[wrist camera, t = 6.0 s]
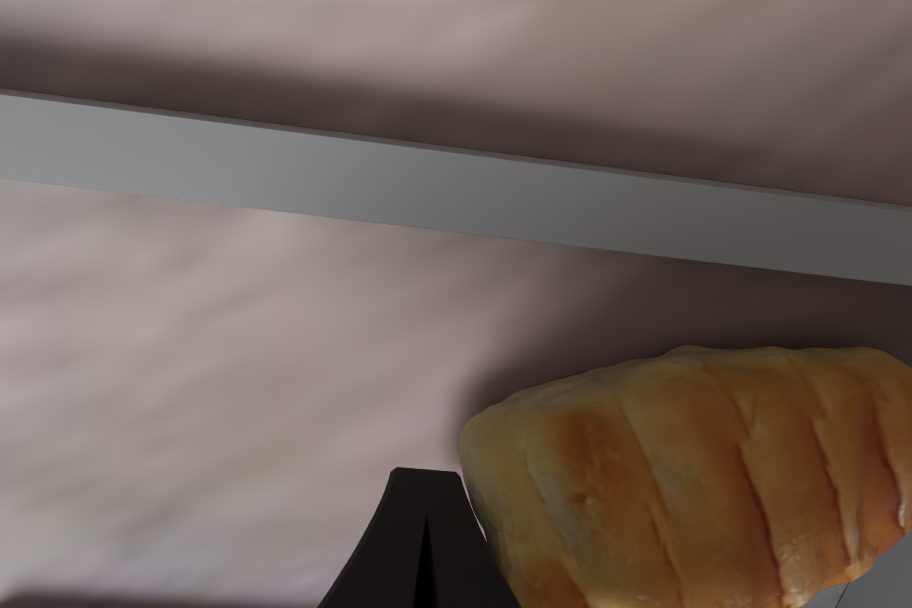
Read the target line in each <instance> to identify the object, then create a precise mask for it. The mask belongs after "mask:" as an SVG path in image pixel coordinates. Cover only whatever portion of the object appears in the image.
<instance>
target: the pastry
mask: <svg viewBox="0 0 912 608" xmlns="http://www.w3.org/2000/svg"><path fill="white" fill-rule="evenodd" d="M458 453H459V459H460V463H461V466H462V471H463V477H464V482H465V485H466V488H467V491H468V494H469V499H470V503H471V505H472V508H473V511H474V513H475V515H476V517H477V519H478V521H479V523H480V524H481V526H482V528H483V529H484V532H485V536H486V540H487V544H488V546H489V548H490V550H491V552H492V554H493V556H494V558H495V560H496V562H497V564H498V566H499V568H500V570H501V571H502V573H503V575H504V577H505V579H506V581H507V583H508V584H509V586H510V588H511V589H512V591H513V593H514V595H515V596H516V598H517V600H518V602H519V603H520V605H521V607H522V608H800V607H802V606H804V605H805V604H806V603H807V602H809V601H810V600H811V599H812V598H813V597H814V596H815V595H816V594H817V593H818V592H819V591H821V590H823V589H825V588H827V587H830V586H834V585H837V584H842V583H850V582H852V581H854V580H855V579H857V578H859V577H861V576H862V575H863V574H865V573H866V572H868V571H869V570H870V569H871V568H872V566H873V563H874V561H875V560H876V558H877V556H878V555H880V554H882V553H885V552H887V551H889V550H890V549H891V548H892V547H893V546H894V545H895V544H897V543H898V542H899V541H900V540H901V539H902V538H903V537H904V536H905V535H906V534H907V533H908V532H909V531H910V530H912V368H910V367H909V366H907V365H906V364H905V363H903V362H902V361H900V360H899V359H897V358H895V357H893V356H891V355H889V354H887V353H886V352H884V351H882V350H879V349H875V348H870V347H865V346H861V347H848V348H820V347H811V348H805V349H800V350H791V349H786V348H781V347H777V346H768V347H760V348H752V349H718V348H707V347H701V346H697V345H682V346H678V347H674V348H672V349H670V350H668V351H667V352H666V353H665V354H664V355H660V356H656V357H653V358H647V359H633V360H628V361H626V362H623V363H620V364H617V365H613V366H609V367H604V368H597V369H592V370H588V371H587V372H585V373H581V374H577V375H572V376H569V377H566V378H563V379H556V380H552V381H549V382H546V383H544V384H541V385H538V386H535V387H531V388H526V389H522V390H520V391H517V392H515V393H513V394H512V395H510V396H509V397H507V398H506V399H505V400H503V401H502V402H501V403H497V404H493V405H491V406H489V407H488V408H486V409H485V410H484V411H482V412H481V413H479V414H477V415H475V416H473V417H472V418H470V419H469V420H468V421H467V422H466V424H465V426H464V428H463V430H462V432H461V434H460V437H459V440H458Z"/></svg>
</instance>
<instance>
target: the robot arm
mask: <svg viewBox="0 0 912 608" xmlns="http://www.w3.org/2000/svg"><path fill="white" fill-rule="evenodd" d="M317 608H522V607H521V605H520V603H519V602H518V600H517V598H516V596H515V595H514V593H513V591H512V589H511V588H510V586H509V584H508V583H507V581H506V579H505V577H504V575H503V573H502V571H501V570H500V568H499V566H498V564H497V562H496V560H495V558H494V556H493V554H492V552H491V550H490V548H489V546H488V544H487V542H486V540H485V538H484V536H483V534H482V531H481V529H480V527H479V525H478V523H477V520H476V518H475V516H474V513H473V511H472V508H471V506H470V503H469V501H468V498H467V496H466V493H465V490H464V487H463V484H462V480H461V477H460V476H459V475H458V474H457V473H456V472H450V471H438V470H426V469H414V468H401V467H397V468H395V469H394V470H392V471H391V472H390V476H389V480H388V483H387V486H386V489H385V491H384V494H383V496H382V499H381V501H380V503H379V505H378V507H377V509H376V511H375V514H374V516H373V518H372V520H371V521H370V523H369V525H368V527H367V529H366V531H365V532H364V534H363V536H362V538H361V540H360V541H359V543H358V545H357V547H356V549H355V550H354V552H353V554H352V555H351V557H350V558H349V560H348V562H347V563H346V565H345V566H344V568H343V569H342V571H341V573H340V574H339V576H338V577H337V579H336V580H335V582H334V583H333V585H332V587H331V588H330V590H329V591H328V593H327V594H326V596H325V597H324V598H323V600H322V601H321V603H320V604H319V606H318V607H317Z"/></svg>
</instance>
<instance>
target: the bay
mask: <svg viewBox="0 0 912 608" xmlns="http://www.w3.org/2000/svg"><path fill="white" fill-rule="evenodd" d="M0 179H9V180H17V181H26V182H34V183H43V184H51V185H60V186H68V187H77V188H85V189H94V190H102V191H111V192H119V193H128V194H136V195H145V196H153V197H161V198H170V199H178V200H187V201H195V202H204V203H212V204H221V205H229V206H238V207H246V208H255V209H263V210H272V211H280V212H289V213H297V214H306V215H314V216H323V217H331V218H340V219H348V220H357V221H365V222H374V223H382V224H391V225H399V226H407V227H416V228H424V229H433V230H441V231H450V232H458V233H467V234H475V235H484V236H492V237H501V238H509V239H518V240H526V241H535V242H543V243H552V244H560V245H569V246H577V247H586V248H594V249H603V250H611V251H620V252H628V253H637V254H645V255H653V256H662V257H670V258H679V259H687V260H696V261H704V262H713V263H721V264H730V265H738V266H747V267H755V268H764V269H772V270H781V271H789V272H798V273H806V274H815V275H823V276H832V277H840V278H849V279H857V280H866V281H874V282H883V283H891V284H899V285H908V286H912V206H905V205H897V204H890V203H882V202H874V201H867V200H859V199H851V198H844V197H836V196H828V195H821V194H813V193H805V192H797V191H790V190H782V189H774V188H767V187H759V186H751V185H744V184H736V183H728V182H721V181H713V180H705V179H697V178H690V177H682V176H674V175H667V174H659V173H651V172H644V171H636V170H628V169H621V168H613V167H605V166H597V165H590V164H582V163H574V162H567V161H559V160H551V159H544V158H536V157H528V156H521V155H513V154H505V153H497V152H490V151H482V150H474V149H467V148H459V147H451V146H444V145H436V144H428V143H421V142H413V141H405V140H398V139H390V138H382V137H374V136H367V135H359V134H351V133H344V132H336V131H328V130H321V129H313V128H305V127H298V126H290V125H282V124H274V123H267V122H259V121H251V120H244V119H236V118H228V117H221V116H213V115H205V114H198V113H190V112H182V111H174V110H167V109H159V108H151V107H144V106H136V105H128V104H121V103H113V102H105V101H98V100H90V99H82V98H74V97H67V96H59V95H51V94H44V93H36V92H28V91H21V90H13V89H5V88H0ZM837 608H912V530H910V531H909V532H908V533H907V534H906V535H905V536H904V537H903V538H902V539H901V540H900V541H899V542H898V543H897V544H895V545H894V546H893V547H892V548H891V549H890V550H889V551H887V552H885V553H882V554H880V555H878V556H877V558H876V560H875V561H874V563H873V566H872V568H871V569H870V570H869V571H868V572H866V573H865V574H863V575H862V576H861V577H859V578H857V579H855V580H854V581H852V582H850V583H849V584H848V586H847V588H846V590H845V592H844V594H843V596H842V598H841V600H840V602H839V604H838V606H837Z"/></svg>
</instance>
